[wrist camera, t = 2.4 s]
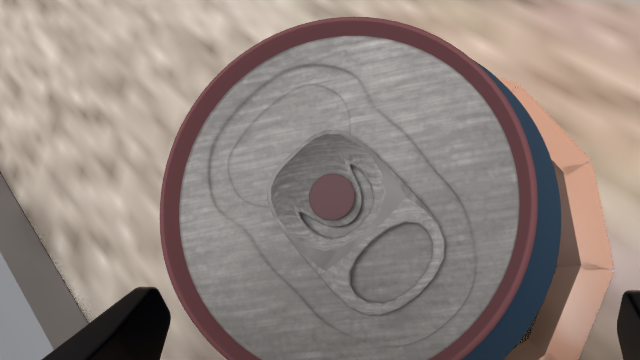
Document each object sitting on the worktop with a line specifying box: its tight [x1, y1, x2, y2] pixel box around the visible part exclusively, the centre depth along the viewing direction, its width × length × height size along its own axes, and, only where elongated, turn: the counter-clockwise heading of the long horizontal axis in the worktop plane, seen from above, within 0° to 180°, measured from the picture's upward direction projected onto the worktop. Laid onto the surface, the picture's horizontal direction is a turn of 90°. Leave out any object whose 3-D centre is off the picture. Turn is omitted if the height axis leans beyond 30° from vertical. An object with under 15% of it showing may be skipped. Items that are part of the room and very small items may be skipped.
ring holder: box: [497, 77, 614, 360], centre depth 17 cm, size 12×12×4 cm
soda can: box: [160, 17, 561, 360], centre depth 13 cm, size 7×7×12 cm
